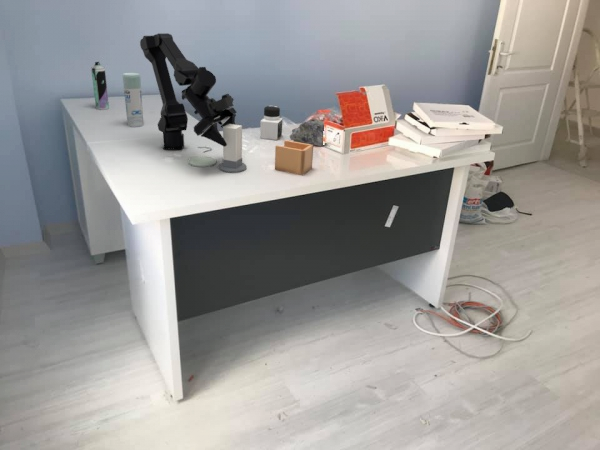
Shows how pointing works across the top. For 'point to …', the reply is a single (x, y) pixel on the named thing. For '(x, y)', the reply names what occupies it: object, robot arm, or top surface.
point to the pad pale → (202, 161)
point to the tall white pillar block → (232, 146)
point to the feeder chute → (294, 157)
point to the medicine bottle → (271, 123)
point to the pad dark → (231, 170)
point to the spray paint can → (133, 99)
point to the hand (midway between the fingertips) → (232, 142)
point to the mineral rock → (309, 132)
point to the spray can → (100, 87)
